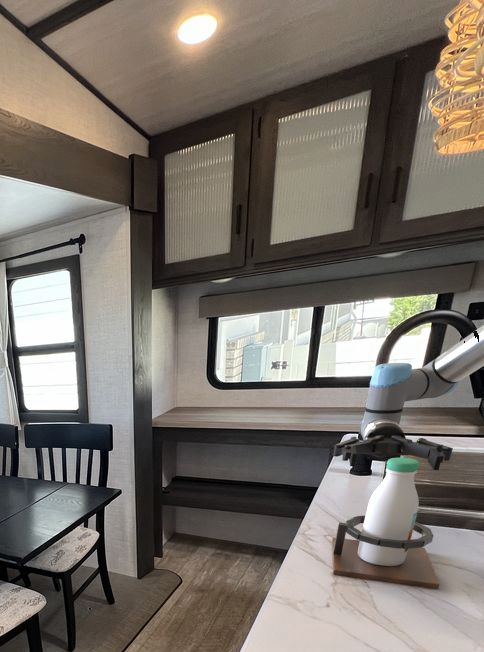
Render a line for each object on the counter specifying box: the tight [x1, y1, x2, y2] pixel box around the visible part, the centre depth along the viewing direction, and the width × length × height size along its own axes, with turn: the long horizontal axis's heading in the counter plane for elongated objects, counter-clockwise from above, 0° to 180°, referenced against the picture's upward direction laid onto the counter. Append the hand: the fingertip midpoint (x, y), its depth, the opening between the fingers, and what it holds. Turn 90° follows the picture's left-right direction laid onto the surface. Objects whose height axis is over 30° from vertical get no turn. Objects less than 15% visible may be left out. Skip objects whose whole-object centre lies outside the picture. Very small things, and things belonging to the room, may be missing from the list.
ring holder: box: [331, 514, 441, 590], centre depth 91 cm, size 16×16×8 cm
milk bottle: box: [358, 457, 420, 566], centre depth 89 cm, size 8×8×20 cm
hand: (394, 461), depth 93 cm, fingers open, 13 cm apart
